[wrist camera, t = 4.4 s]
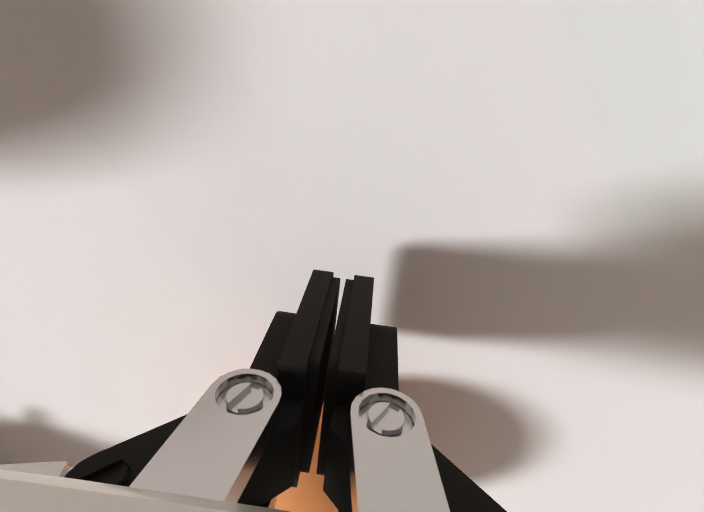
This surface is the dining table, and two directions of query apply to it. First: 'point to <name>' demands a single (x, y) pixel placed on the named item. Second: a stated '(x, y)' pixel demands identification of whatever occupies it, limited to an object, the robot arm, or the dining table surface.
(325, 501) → the ball
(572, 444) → the dining table surface
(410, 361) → the dining table surface
